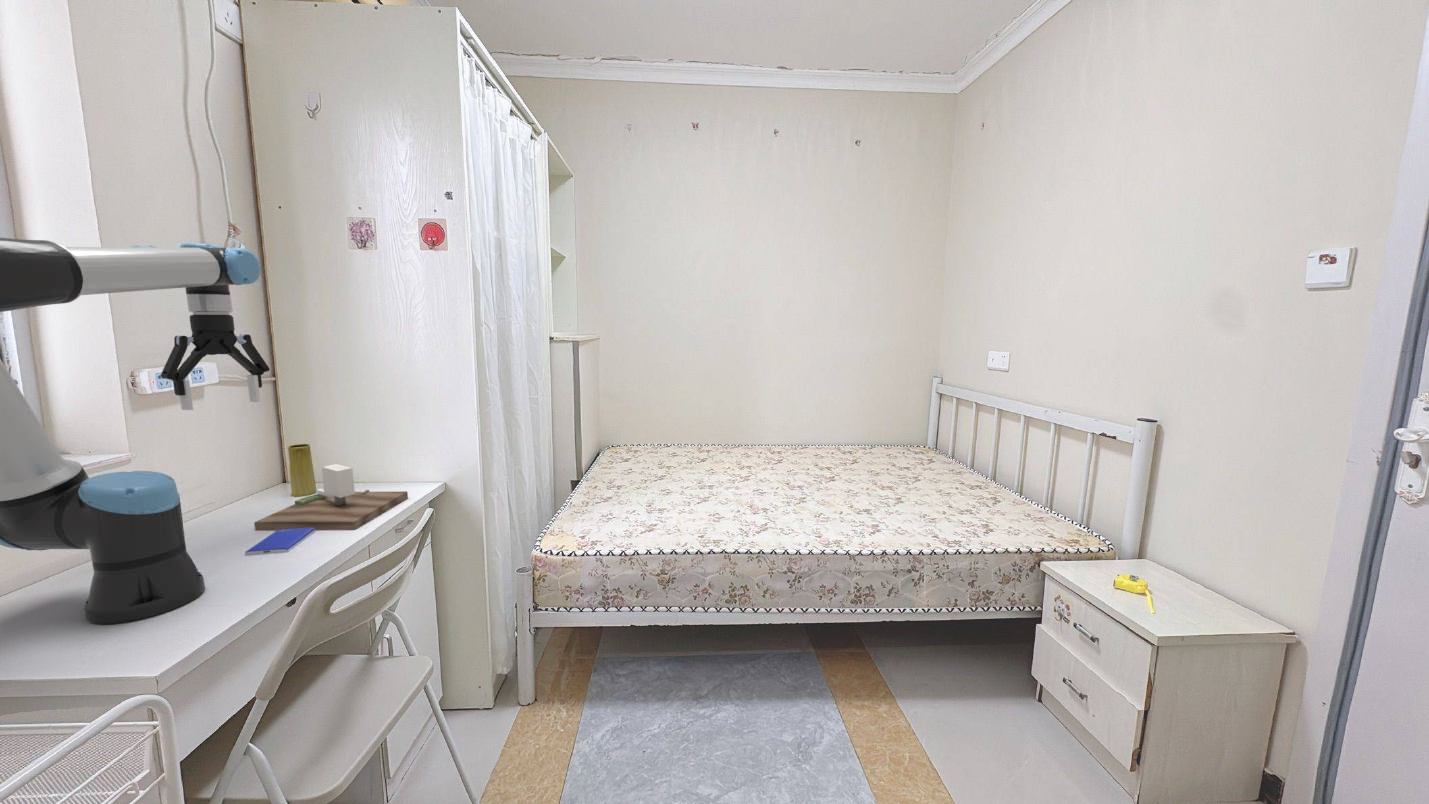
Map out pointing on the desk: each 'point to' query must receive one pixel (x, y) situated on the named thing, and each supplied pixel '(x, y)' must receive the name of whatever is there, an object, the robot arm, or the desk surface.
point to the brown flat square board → (332, 511)
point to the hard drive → (281, 541)
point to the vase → (301, 470)
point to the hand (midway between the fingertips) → (223, 405)
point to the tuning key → (337, 483)
